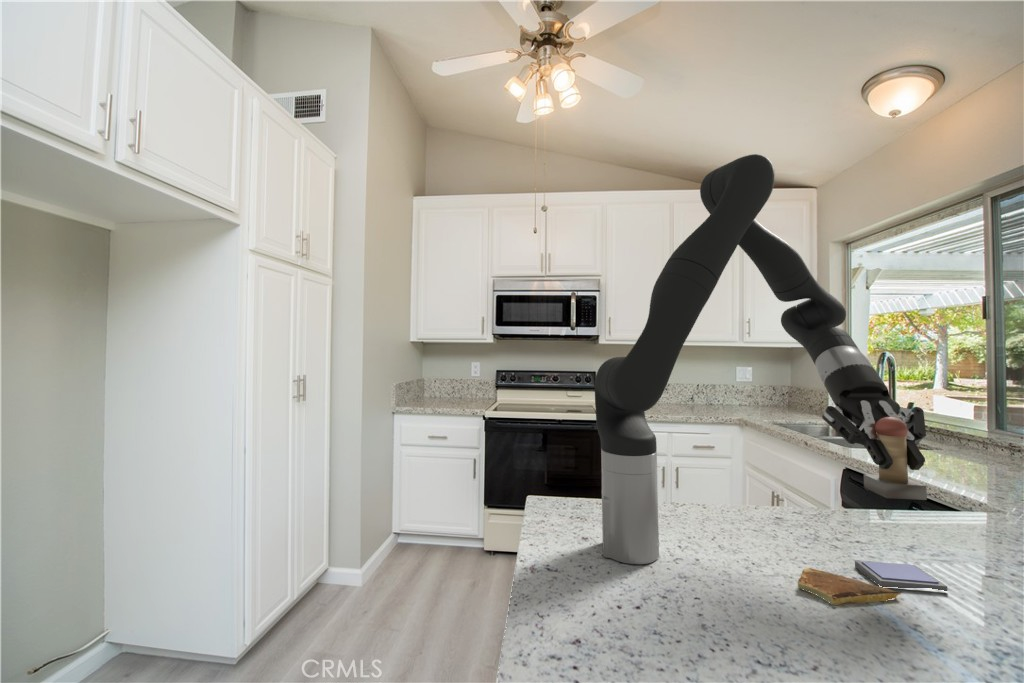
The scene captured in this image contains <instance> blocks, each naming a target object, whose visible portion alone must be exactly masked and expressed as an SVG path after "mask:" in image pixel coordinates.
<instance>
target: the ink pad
mask: <svg viewBox="0 0 1024 683" xmlns="http://www.w3.org/2000/svg"><path fill="white" fill-rule="evenodd" d="M854 567H855V569H857V570H858V571H859V572H861V573H862V574H863V575H864V574H865V575H864V576H866V577H867V576H868V577H869V578H870V579H869V578H868V577H867V578H868V579H869V580H871V579H872V580H873V581H875V582H876V583H877V584H879V585H880V586H882V587H898V588H932V589H938V590H944V591H949V590H948V585H947V584H944V582H942V581H940V580H939V579H937V578H935V577H934V576H933V575H930V574H929V573H928V572H926V570H925V571H924V570H923V569H922V568H920V567H919V566H917V565H916V564H907V563H893V562H879V561H866V560H854ZM872 580H871V581H872ZM873 581H872V582H873ZM876 583H875V584H876ZM877 584H876V585H877Z"/></svg>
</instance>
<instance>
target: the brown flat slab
mask: <svg viewBox="0 0 1024 683" xmlns="http://www.w3.org/2000/svg"><path fill="white" fill-rule="evenodd" d="M797 586H798V587H797V588H798V589H799V588H800V589H799V590H801V589H804V590H807V591H810V592H812V593H814V594H817V595H818V596H820V597H822V598H824V599H825V600H826V602H827V601H828V602H827V603H829V602H830V603H829V604H831V605H833V606H839V605H844V604H846V602H847V603H877V602H876V601H884V602H887V601H886V600H888V599H892V598H896V597H897V598H898V596H900V595H902V592H901V591H896V590H894V589H888V588H883V587H879V586H878V585H874V584H870V583H867V582H865V581H864V582H863V581H861V580H857V579H854V578H851V577H846V576H843V575H839V574H835V573H832V572H829V571H828V572H827V571H823V570H819V569H815V568H811V567H808V568H804V569H802V571H801V575H800V577H799V578H798V580H797ZM804 590H803V591H804ZM807 591H806V592H807ZM810 592H809V593H810ZM812 593H811V594H812ZM814 594H813V595H814ZM818 596H817V597H818ZM820 597H819V598H820ZM822 598H821V599H822ZM824 599H823V600H824ZM825 600H824V601H825Z"/></svg>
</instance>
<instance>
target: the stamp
mask: <svg viewBox="0 0 1024 683" xmlns="http://www.w3.org/2000/svg"><path fill="white" fill-rule="evenodd" d="M901 420H902V419H901ZM901 420H899V419H897V418H894V417H884V418H882V419H880V420H878V421H877V423H876V425H875V430H876V433H877V436H878V438H877V440H881V441H882V443H883V445H884V446H885V448H886V450H887V451H888V453H889V455H890V456H891V458H892V460H893V464H892V465H891V466H890V468H889V469H881V468H880V466H879V465H878V474H863V487H864V489H867V490H869V491H871V492H873V493H875V494H877V495H879V496H881V497H884V498H885V499H901V500H919V501H921V500H923V501H927V500H928V497H927V496H928V495H927V494H928V491H927V490H928V489H927V485H926V484H922V483H920V482H918V481H917V480H916V481H915V480H913V479H910V478H909V470H908V468H909V466H908V465H907V444H906V435H907V433H908V429H907V424H906V423H904V422H903V420H902V421H901Z"/></svg>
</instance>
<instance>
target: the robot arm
mask: <svg viewBox="0 0 1024 683" xmlns="http://www.w3.org/2000/svg"><path fill="white" fill-rule="evenodd" d="M775 182H776V173H775V167H774V165H773V163H772V161H771V160H770V159H769V158H768V157H767V156H765V155H763V154H757V153H755V154H754V153H753V154H748V155H744V156H740V157H739V158H736V159H734V160H732V161H730V162H728V163H726V164H723V165H722V166H720V167H717V168H716V169H714V170H712V171H710V172H708V173H707V174H706V175H705V177H704V178H703V179H702V181H701V184H700V188H699V193H700V199H701V202H702V204H703V206H704V208H705V209H706V211H707V212H708V213H709V214H710V215H709V216H708V217H707V218H706V219H705V220H704V221H703V222H702V223H701V224H700V225H699V226H698V227H697V228H696V229H695V230H694V231H693V232H692V233H691V234H689V235H688V237H686V238H685V240H683V241H682V243H680V244H679V246H677V248H676V249H675V250H674V251H673V252H672V254H671V256H670V257H669V258H668V260H667V261H666V262H665V264H664V266H663V268H662V270H661V272H660V274H659V276H658V277H657V279H656V281H655V284H654V285H653V287H652V292H651V296H650V301H649V310H648V317H647V320H646V323H645V326H644V328H643V329H642V332H641V333H640V335H639V336H638V338H637V340H636V342H635V343H634V345H633V347H632V348H631V349H630V351H629V353H628V354H627V355H626V356H614V357H611V358H609V359H607V360H605V361H604V362H603V363H602V364H601V365H600V366H599V368H598V370H597V371H596V372H597V373H596V375H595V380H594V381H595V382H594V402H595V403H594V404H595V420H596V421H595V422H596V428H597V432H598V436H599V439H600V450H601V451H600V452H601V453H600V455H601V456H600V457H601V461H600V462H601V526H602V528H601V529H602V535H601V536H602V557H604V558H609V559H612V560H615V561H617V562H621V563H625V564H628V565H629V564H630V565H646V564H651V563H653V562H655V561H656V560H658V559H659V557H660V538H659V535H660V534H659V533H660V532H659V530H660V528H659V495H658V494H659V493H658V489H659V487H658V457H657V456H658V455H657V453H658V450H657V446H658V445H657V437H656V435H655V433H654V432H653V431H652V429H651V428H650V426H649V424H648V422H647V419H646V413H645V412H646V411H648V410H650V409H651V408H653V407H654V406H655V405H656V404H657V403H658V402H659V400H660V399H661V398H662V396H663V394H664V393H665V392H664V391H665V389H666V387H667V385H668V382H669V380H670V377H671V375H672V373H673V370H674V367H675V365H676V362H677V359H678V358H679V355H680V354H681V353H680V352H681V351H682V348H683V346H684V344H685V342H686V341H687V338H688V337H689V335H690V333H691V331H692V329H693V328H694V327H695V324H696V323H697V320H698V318H699V316H700V314H701V312H702V310H703V309H704V307H705V306H706V305H707V302H708V301H709V300H710V297H711V295H712V293H713V292H714V290H715V288H716V286H717V284H718V282H719V280H720V278H721V276H722V274H723V272H724V270H725V269H726V266H727V265H728V263H729V262H730V259H731V257H733V254H734V253H735V251H736V249H737V248H738V246H739V248H740V249H742V250H743V252H744V253H745V254H746V255H747V256H748V258H749V259H750V260H751V261H752V263H753V264H754V265H755V266H756V268H757V269H758V271H759V272H760V274H761V276H762V277H763V279H764V280H765V282H766V283H767V285H768V286H769V288H770V289H771V292H772V293H773V295H774V296H775V298H776V299H778V300H779V301H780V302H783V303H786V302H787V303H789V302H795V301H799V300H804V299H805V300H804V301H802V302H799V303H798V304H796V305H793V306H791V307H789V308H787V309H785V310H784V311H783V312H782V314H781V317H780V324H781V326H782V328H783V330H784V331H785V332H786V333H787V334H788V335H789V336H790V337H791V338H792V339H794V340H795V341H796V342H797V343H799V344H800V345H801V346H802V347H803V348H804V349H805V350H806V351H807V353H808V355H809V357H810V358H811V360H812V362H813V364H814V365H815V368H816V370H817V373H818V376H819V378H820V381H821V383H822V384H823V385H824V388H825V389H826V391H827V394H828V395H829V397H830V398H831V401H832V402H833V404H834V406H835V407H834V406H831V405H828V406H827V407H826V408H825V410H824V412H823V414H822V416H821V418H822V420H823V421H824V422H826V423H827V424H828V425H829V426H830V428H832V429H833V430H834V431H835V432H837V433H838V434H839V435H840V437H842V438H843V440H845V442H847V443H848V444H849V445H850V444H851V445H855V444H858V445H861V446H863V448H865V449H866V451H867V453H868V454H869V457H870V458H871V459H872V461H873V463H874V464H875V465H876V466H878V467H879V466H880V468H881V469H889V468H890V466H891V465H892V464H893V460H892V458H891V456H890V455H889V453H888V451H887V450H886V448H885V446H884V445H883V443H882V441H881V440H877V438H878V436H877V432H876V430H875V425H876V423H877V421H878V420H880V419H882V418H884V417H894V418H897V419H899V420H901V421H903V422H904V423H905V425H906V426H907V429H908V433H907V435H906V444H907V465H908V468H909V469H910V470H911V471H919V470H921V468H922V467H923V466H924V465H925V464H924V463H925V462H926V458H925V456H924V454H923V453H922V452H921V450H920V449H919V448H918V445H920V442H921V441H922V440H923V439H924V438H925V437H927V433H926V432H927V431H926V423H925V412H924V410H923V408H921V407H918V406H914V407H913V408H912V409H910V408H907V407H904V406H900V404H899V402H896V400H894V399H892V397H891V396H890V392H889V389H888V386H887V385H886V383H885V382H884V381H883V380H882V377H881V376H880V375H879V373H878V372H877V370H876V369H875V367H874V366H873V364H872V363H871V362H870V360H869V359H868V358H867V357H866V356H865V355H864V353H863V352H862V351H861V350H860V349H859V347H858V345H857V344H856V343H855V341H854V340H853V338H852V336H851V335H850V334H849V333H848V332H847V331H846V330H845V329H843V328H841V327H839V326H841V325H842V324H843V323H844V322H845V320H846V319H847V318H846V317H847V311H846V308H845V307H844V305H843V304H842V302H841V301H839V300H838V299H837V298H836V297H835V296H834V295H833V294H831V293H830V292H829V291H827V290H826V289H825V288H824V287H822V286H821V285H820V284H819V282H818V281H817V280H816V279H815V277H814V276H813V274H812V273H811V271H810V269H809V268H808V266H807V265H806V263H805V261H804V259H803V258H802V257H801V254H799V252H798V251H797V250H796V249H795V247H793V246H792V245H790V244H789V243H788V242H787V241H786V240H784V239H782V238H781V237H780V236H777V235H776V234H775V233H773V232H771V231H770V230H769V229H768V228H765V227H764V226H763V225H762V224H761V223H760V222H759V221H757V219H756V218H757V216H758V215H759V213H760V212H761V211H762V209H763V208H764V207H765V205H766V203H767V202H768V200H769V199H770V196H771V195H772V193H773V190H774V186H775ZM901 418H902V419H901Z"/></svg>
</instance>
